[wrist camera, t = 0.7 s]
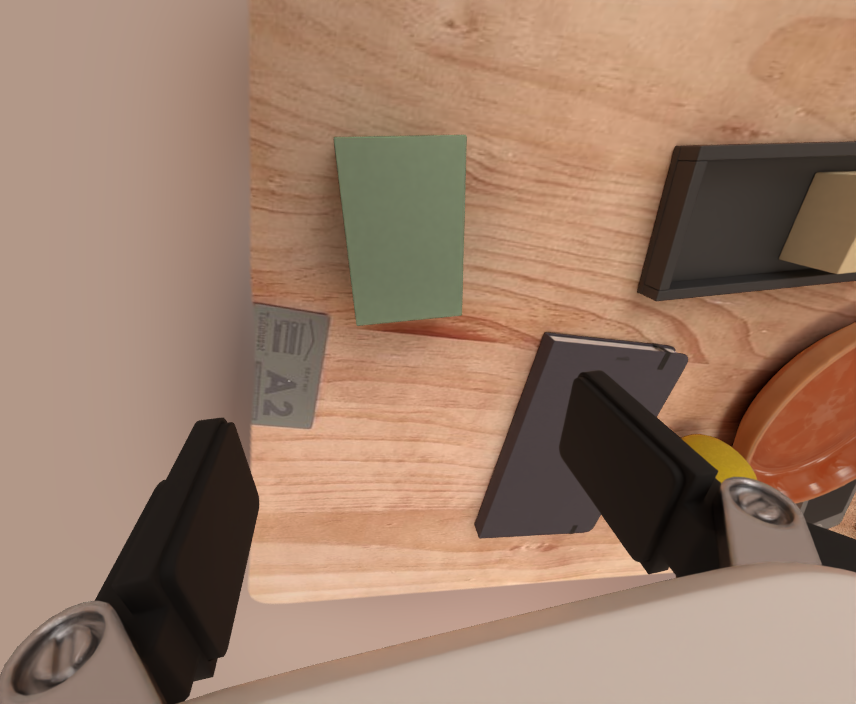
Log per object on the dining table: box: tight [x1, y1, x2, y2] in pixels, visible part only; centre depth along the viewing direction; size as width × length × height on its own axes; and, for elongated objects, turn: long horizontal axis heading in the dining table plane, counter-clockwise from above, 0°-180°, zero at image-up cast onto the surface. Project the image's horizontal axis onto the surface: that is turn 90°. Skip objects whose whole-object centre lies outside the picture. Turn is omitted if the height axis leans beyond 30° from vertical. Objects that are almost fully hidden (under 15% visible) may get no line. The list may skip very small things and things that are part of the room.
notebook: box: [475, 332, 688, 538], centre depth 34 cm, size 13×2×21 cm
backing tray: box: [637, 141, 856, 301], centre depth 27 cm, size 10×22×2 cm, turn 91°
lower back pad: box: [334, 135, 467, 326], centre depth 21 cm, size 6×9×4 cm, turn 1°
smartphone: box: [796, 479, 856, 529], centre depth 48 cm, size 15×8×1 cm, turn 16°
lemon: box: [681, 434, 757, 483], centre depth 34 cm, size 6×6×8 cm
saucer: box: [732, 322, 856, 504], centre depth 37 cm, size 23×23×4 cm
